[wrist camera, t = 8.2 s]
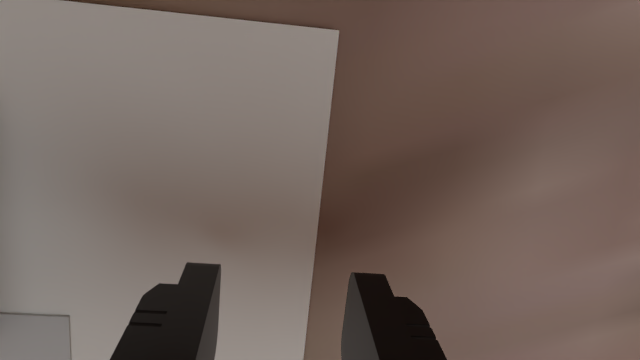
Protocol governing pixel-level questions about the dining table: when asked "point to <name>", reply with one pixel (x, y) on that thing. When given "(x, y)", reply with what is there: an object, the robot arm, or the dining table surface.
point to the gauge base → (157, 172)
